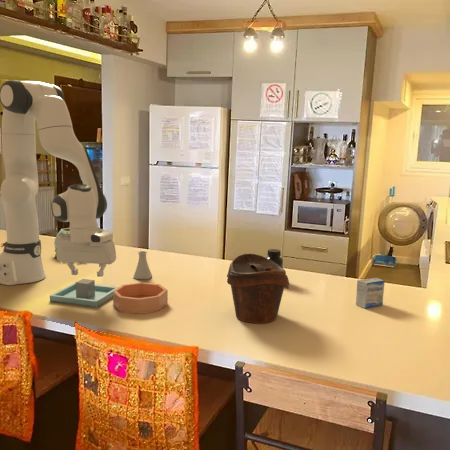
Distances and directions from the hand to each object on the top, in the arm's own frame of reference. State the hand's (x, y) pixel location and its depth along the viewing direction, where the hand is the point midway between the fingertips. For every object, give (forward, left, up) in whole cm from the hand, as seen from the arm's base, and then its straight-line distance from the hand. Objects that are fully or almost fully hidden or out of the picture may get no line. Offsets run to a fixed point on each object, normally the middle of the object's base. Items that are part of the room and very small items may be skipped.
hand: (87, 275), depth 164 cm
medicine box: (+90, +24, -8) cm, 94 cm away
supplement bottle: (+55, +39, -8) cm, 68 cm away
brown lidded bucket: (+57, +2, -8) cm, 58 cm away
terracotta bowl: (+19, 0, -8) cm, 21 cm away
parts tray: (-1, 0, -8) cm, 8 cm away
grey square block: (-1, 0, -7) cm, 7 cm away
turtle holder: (-35, +45, -8) cm, 57 cm away
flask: (+7, +27, -8) cm, 29 cm away
